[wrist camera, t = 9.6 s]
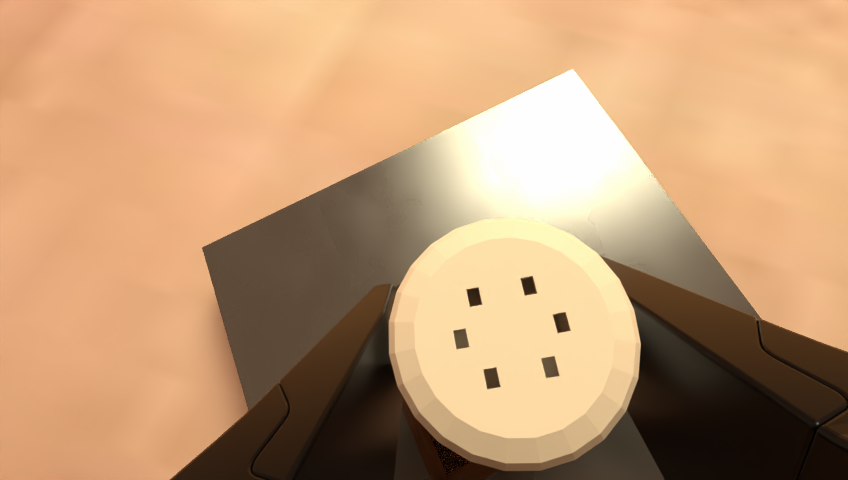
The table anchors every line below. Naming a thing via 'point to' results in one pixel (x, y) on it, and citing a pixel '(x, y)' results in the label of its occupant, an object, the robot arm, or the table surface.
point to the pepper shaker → (514, 344)
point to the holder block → (437, 216)
